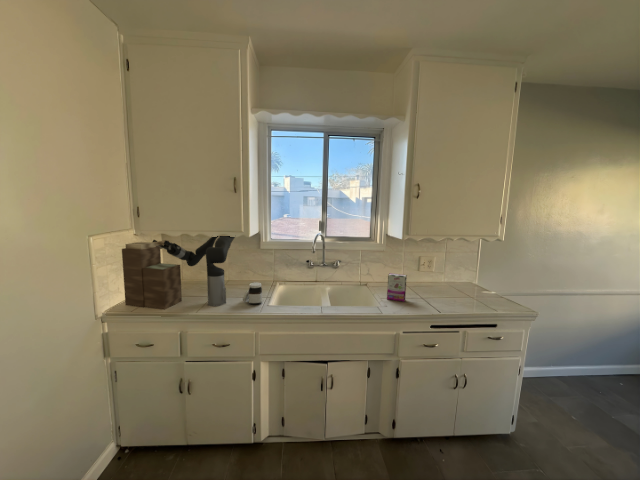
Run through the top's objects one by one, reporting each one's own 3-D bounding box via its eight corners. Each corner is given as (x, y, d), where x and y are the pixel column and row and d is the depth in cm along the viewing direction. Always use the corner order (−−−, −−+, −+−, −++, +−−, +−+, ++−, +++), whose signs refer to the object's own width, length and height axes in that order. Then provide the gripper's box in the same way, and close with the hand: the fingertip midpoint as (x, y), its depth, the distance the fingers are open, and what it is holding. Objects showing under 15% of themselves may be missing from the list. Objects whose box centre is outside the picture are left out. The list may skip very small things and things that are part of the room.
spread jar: (261, 306, 153) (261, 286, 151) (241, 306, 151) (241, 286, 150) (262, 298, 165) (262, 280, 163) (243, 299, 163) (243, 280, 161)
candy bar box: (405, 299, 170) (407, 274, 168) (404, 302, 166) (406, 276, 163) (387, 297, 174) (389, 272, 172) (386, 299, 170) (388, 274, 168)
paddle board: (160, 242, 169) (159, 238, 169) (173, 243, 167) (173, 239, 167) (125, 248, 146) (125, 244, 145) (141, 249, 144) (140, 245, 143)
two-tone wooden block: (145, 297, 161) (142, 245, 157) (181, 301, 157) (179, 247, 152) (125, 305, 148) (121, 248, 144) (164, 309, 143) (161, 251, 139)
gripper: (169, 245, 179) (151, 235, 164) (187, 246, 176) (171, 236, 162) (165, 255, 176) (146, 246, 162) (184, 256, 174) (167, 247, 159)
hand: (159, 241), depth 162 cm, fingers open, 8 cm apart
